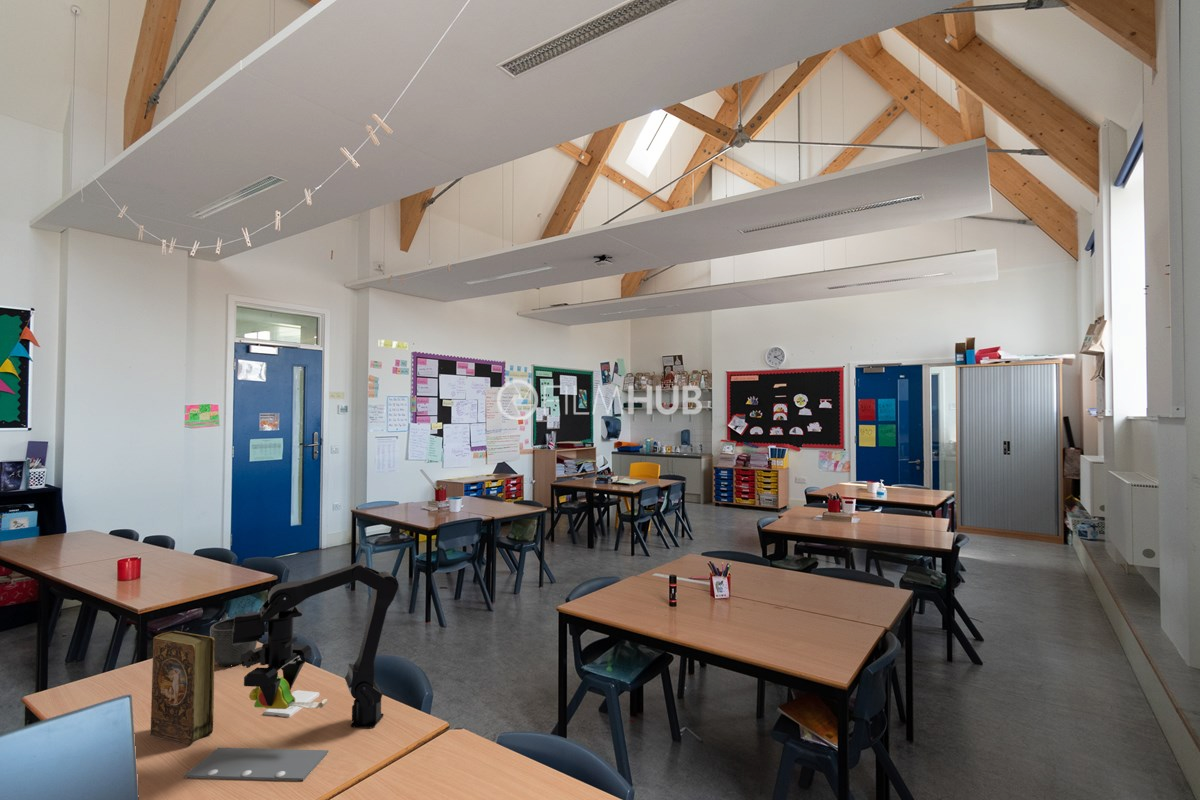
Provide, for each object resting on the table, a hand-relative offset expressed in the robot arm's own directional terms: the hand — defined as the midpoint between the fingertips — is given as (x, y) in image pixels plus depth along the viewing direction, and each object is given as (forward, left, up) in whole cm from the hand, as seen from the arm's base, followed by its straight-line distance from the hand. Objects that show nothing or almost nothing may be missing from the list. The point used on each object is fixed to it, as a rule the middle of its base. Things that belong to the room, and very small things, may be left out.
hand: (278, 699), depth 142 cm
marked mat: (0, +8, -12) cm, 14 cm away
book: (+29, -4, -12) cm, 31 cm away
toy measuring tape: (-2, 0, -2) cm, 3 cm away
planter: (+46, -48, -12) cm, 68 cm away
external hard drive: (+9, -21, -12) cm, 26 cm away
